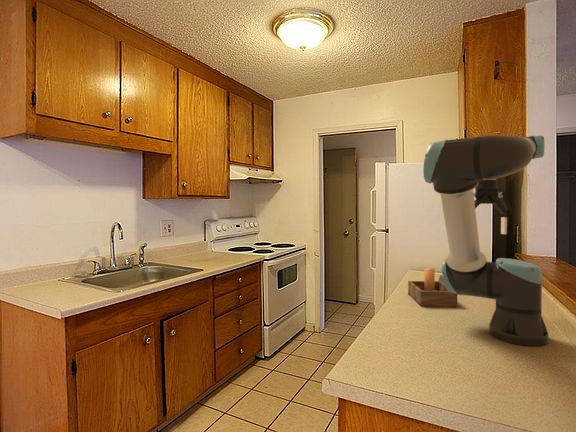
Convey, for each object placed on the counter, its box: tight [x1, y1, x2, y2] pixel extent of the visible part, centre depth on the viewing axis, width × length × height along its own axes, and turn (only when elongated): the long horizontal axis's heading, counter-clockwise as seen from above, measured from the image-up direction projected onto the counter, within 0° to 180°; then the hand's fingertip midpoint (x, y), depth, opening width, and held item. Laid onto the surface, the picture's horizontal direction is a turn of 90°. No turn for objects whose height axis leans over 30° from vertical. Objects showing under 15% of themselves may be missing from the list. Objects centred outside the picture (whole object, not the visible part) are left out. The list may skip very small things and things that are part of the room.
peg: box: [423, 267, 436, 291], centre depth 144 cm, size 4×4×12 cm
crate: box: [407, 280, 458, 308], centre depth 142 cm, size 18×14×6 cm
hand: (485, 234), depth 132 cm, fingers open, 13 cm apart
